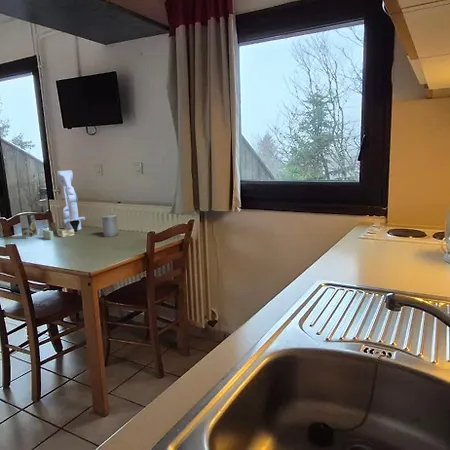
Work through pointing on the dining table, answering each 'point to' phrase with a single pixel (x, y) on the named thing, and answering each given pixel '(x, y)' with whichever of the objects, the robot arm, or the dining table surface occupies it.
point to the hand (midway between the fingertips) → (75, 231)
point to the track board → (48, 234)
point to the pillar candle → (110, 225)
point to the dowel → (53, 227)
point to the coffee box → (28, 225)
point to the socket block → (65, 232)
